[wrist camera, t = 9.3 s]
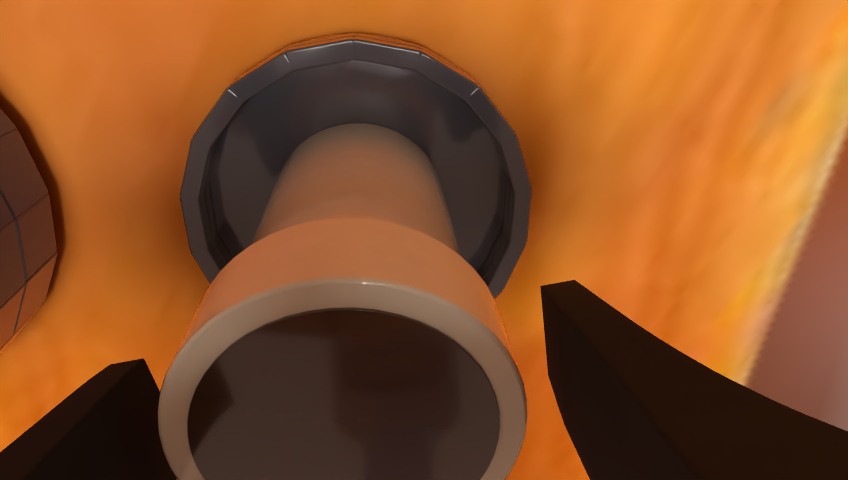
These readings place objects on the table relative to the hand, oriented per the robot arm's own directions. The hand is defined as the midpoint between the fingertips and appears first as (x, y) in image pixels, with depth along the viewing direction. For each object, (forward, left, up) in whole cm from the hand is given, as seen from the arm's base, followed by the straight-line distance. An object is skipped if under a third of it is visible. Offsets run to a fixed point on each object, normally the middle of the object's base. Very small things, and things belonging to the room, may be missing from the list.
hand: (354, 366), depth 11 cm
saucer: (0, 0, -8) cm, 8 cm away
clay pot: (0, 0, -7) cm, 7 cm away
